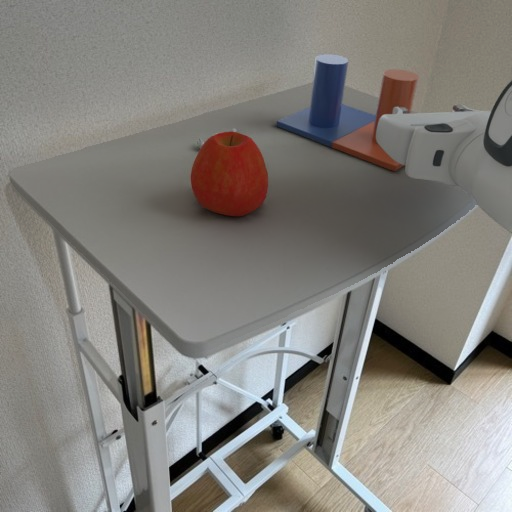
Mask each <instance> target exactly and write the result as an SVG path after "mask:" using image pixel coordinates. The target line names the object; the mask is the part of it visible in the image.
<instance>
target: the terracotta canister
mask: <svg viewBox="0 0 512 512" xmlns="http://www.w3.org/2000/svg"><path fill="white" fill-rule="evenodd" d="M419 79H420V78H419V75H418V74H417V73H415V72H413V71H410V70H406V69H397V68H396V69H395V68H393V69H386V70H384V71H383V73H382V78H381V85H380V90H379V95H378V100H377V104H376V105H377V106H376V110H375V115H376V116H375V121H374V126H373V132H372V140H373V141H374V142H376V143H377V141H376V131H377V126H378V122H379V119H380V118H381V116H382V115H384V114H392V113H393V108H394V107H405V108H406V109H407V110H408V114H409V113H412V110H413V105H414V99H415V95H416V92H417V87H418V82H419Z"/></svg>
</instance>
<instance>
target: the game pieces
mask: <svg viewBox="0 0 512 512" xmlns="http://www.w3.org/2000/svg"><path fill="white" fill-rule="evenodd" d="M230 131H231V132H237V133H238V131H237V129H236V128H231V129H230V130H229V132H230ZM216 134H218V132H217V133H216V132H215V133H214V134H213V135H216ZM204 143H205V142H204V140H202V139H201V138H198V140H196V147H197V148H199V150H200V149H201V147H202V146H203V144H204Z"/></svg>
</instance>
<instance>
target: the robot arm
mask: <svg viewBox="0 0 512 512" xmlns="http://www.w3.org/2000/svg"><path fill="white" fill-rule="evenodd" d="M376 141H377V143H378V144H379V145H380V147H381V148H382V149H383V150H384V151H385V152H386V153H387V154H388V155H389V156H390V157H391V158H392V159H393V160H394V161H396V162H398V163H400V164H402V165H404V166H405V168H404V172H405V175H407V177H409V178H411V179H416V180H423V181H424V180H425V181H430V182H431V181H433V182H437V183H441V184H446V185H448V186H451V187H458V188H459V189H460V190H461V191H463V192H464V193H465V194H467V195H470V196H472V199H473V200H474V202H475V204H476V206H478V207H479V208H480V210H482V211H483V212H484V213H485V214H486V215H487V216H488V217H489V218H491V220H493V221H494V222H495V223H496V224H497V225H499V226H500V227H502V229H504V230H506V231H507V232H509V234H510V233H511V234H512V79H511V80H510V81H509V82H508V84H506V86H505V87H504V88H503V90H502V91H501V93H500V94H499V96H498V98H497V99H496V101H495V102H494V105H493V106H492V109H491V110H478V109H475V108H471V107H468V106H467V105H465V104H453V106H452V110H451V111H442V112H441V111H439V112H438V111H437V112H411V113H409V114H408V110H407V109H406V108H405V107H394V108H393V113H392V114H384V115H382V116H381V118H380V119H379V122H378V126H377V131H376Z"/></svg>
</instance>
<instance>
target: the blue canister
mask: <svg viewBox="0 0 512 512" xmlns="http://www.w3.org/2000/svg"><path fill="white" fill-rule="evenodd" d="M348 66H349V59H348V58H347V57H345V56H342V55H339V54H338V55H337V54H331V53H330V54H326V53H324V54H319V55H317V56H315V58H314V68H313V78H312V86H311V94H310V104H309V107H310V111H309V123H310V124H312V125H314V126H317V127H322V128H332V127H336V126H338V125H339V122H340V115H341V108H342V104H343V100H344V94H345V93H344V92H345V86H346V79H347V74H348Z"/></svg>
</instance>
